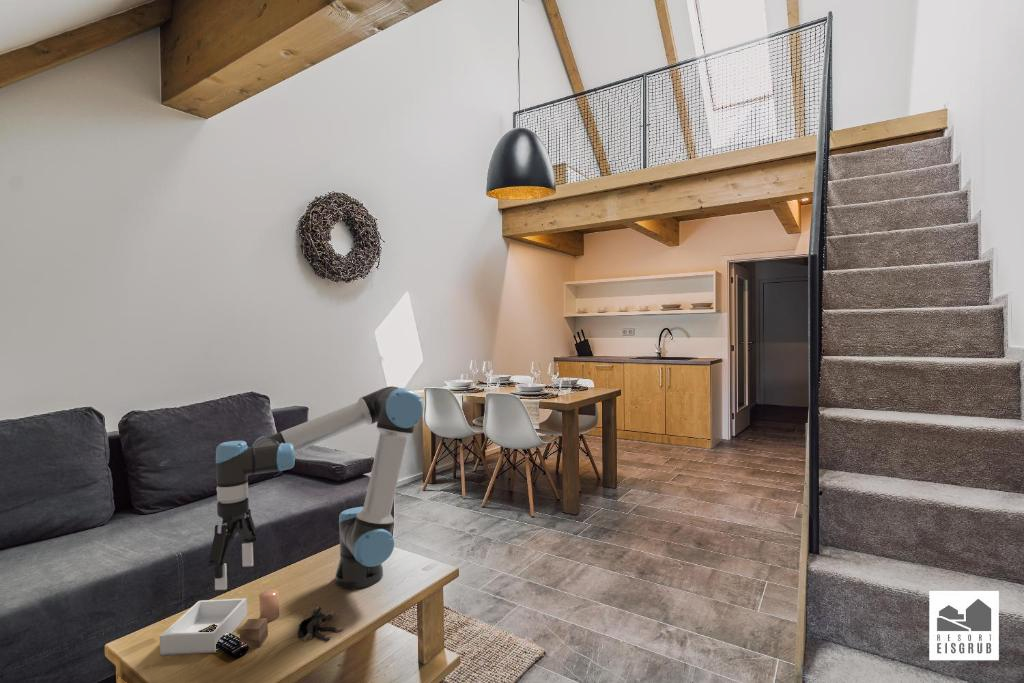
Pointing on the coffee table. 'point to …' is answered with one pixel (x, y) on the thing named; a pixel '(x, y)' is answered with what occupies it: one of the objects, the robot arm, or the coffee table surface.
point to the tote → (203, 626)
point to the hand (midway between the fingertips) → (235, 577)
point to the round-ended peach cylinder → (269, 604)
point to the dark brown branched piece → (316, 625)
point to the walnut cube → (254, 632)
